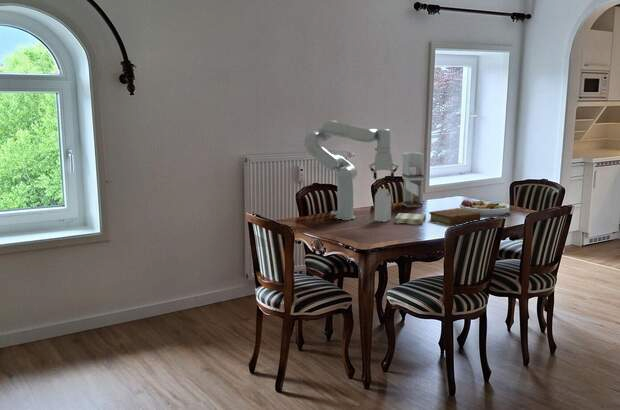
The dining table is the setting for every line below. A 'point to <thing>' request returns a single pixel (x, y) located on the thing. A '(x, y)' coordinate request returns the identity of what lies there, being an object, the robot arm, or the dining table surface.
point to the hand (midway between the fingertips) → (383, 179)
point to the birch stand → (410, 218)
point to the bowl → (485, 207)
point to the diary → (454, 216)
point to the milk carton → (382, 205)
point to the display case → (413, 179)
